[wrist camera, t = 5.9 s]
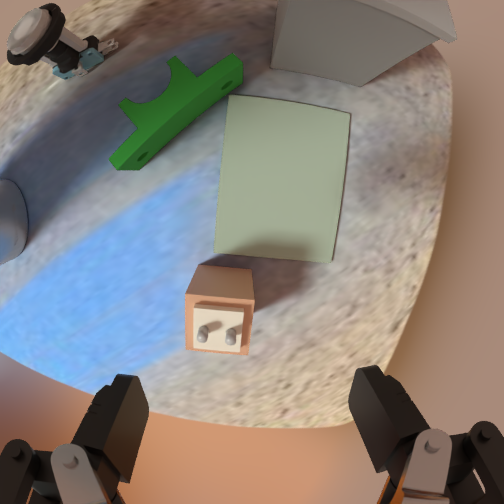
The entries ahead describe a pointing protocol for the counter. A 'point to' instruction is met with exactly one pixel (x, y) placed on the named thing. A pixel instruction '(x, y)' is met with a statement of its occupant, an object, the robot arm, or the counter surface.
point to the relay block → (219, 310)
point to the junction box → (355, 35)
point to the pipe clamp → (174, 109)
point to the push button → (54, 43)
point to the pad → (280, 179)
